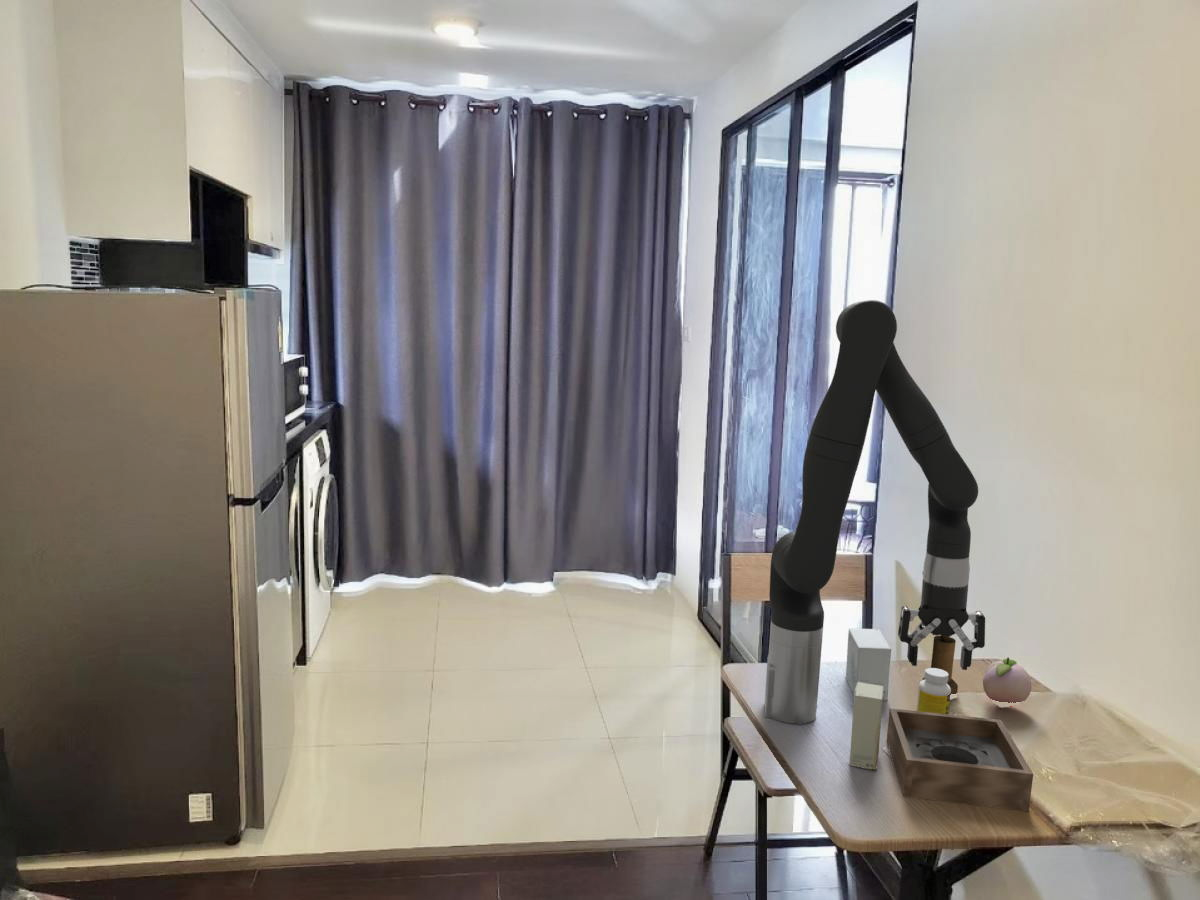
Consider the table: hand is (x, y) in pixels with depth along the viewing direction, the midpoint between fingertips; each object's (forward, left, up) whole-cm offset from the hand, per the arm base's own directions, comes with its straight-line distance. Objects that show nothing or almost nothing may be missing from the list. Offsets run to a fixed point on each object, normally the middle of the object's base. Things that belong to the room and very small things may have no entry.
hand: (938, 666), depth 160 cm
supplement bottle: (0, 0, -11) cm, 11 cm away
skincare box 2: (-14, -17, -11) cm, 25 cm away
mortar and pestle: (+4, +14, -11) cm, 18 cm away
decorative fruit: (+15, +10, -11) cm, 21 cm away
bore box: (0, -18, -11) cm, 21 cm away
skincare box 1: (-10, +13, -11) cm, 20 cm away
